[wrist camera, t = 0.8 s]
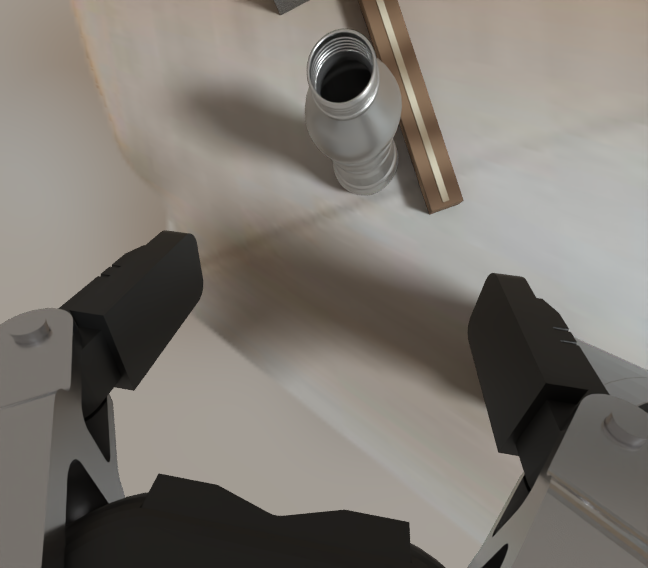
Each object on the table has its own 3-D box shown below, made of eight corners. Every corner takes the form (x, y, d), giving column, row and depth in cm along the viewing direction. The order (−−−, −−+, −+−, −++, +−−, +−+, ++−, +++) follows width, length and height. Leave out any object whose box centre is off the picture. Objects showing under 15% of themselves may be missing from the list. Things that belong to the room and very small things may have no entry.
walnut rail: (458, 204, 36) (463, 200, 33) (429, 214, 36) (432, 211, 34) (371, -60, 35) (369, -85, 32) (343, -45, 36) (339, -68, 33)
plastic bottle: (335, 199, 38) (277, 140, 18) (337, 135, 37) (279, 2, 18) (396, 199, 37) (403, 135, 17) (399, 132, 36) (410, -12, 16)
